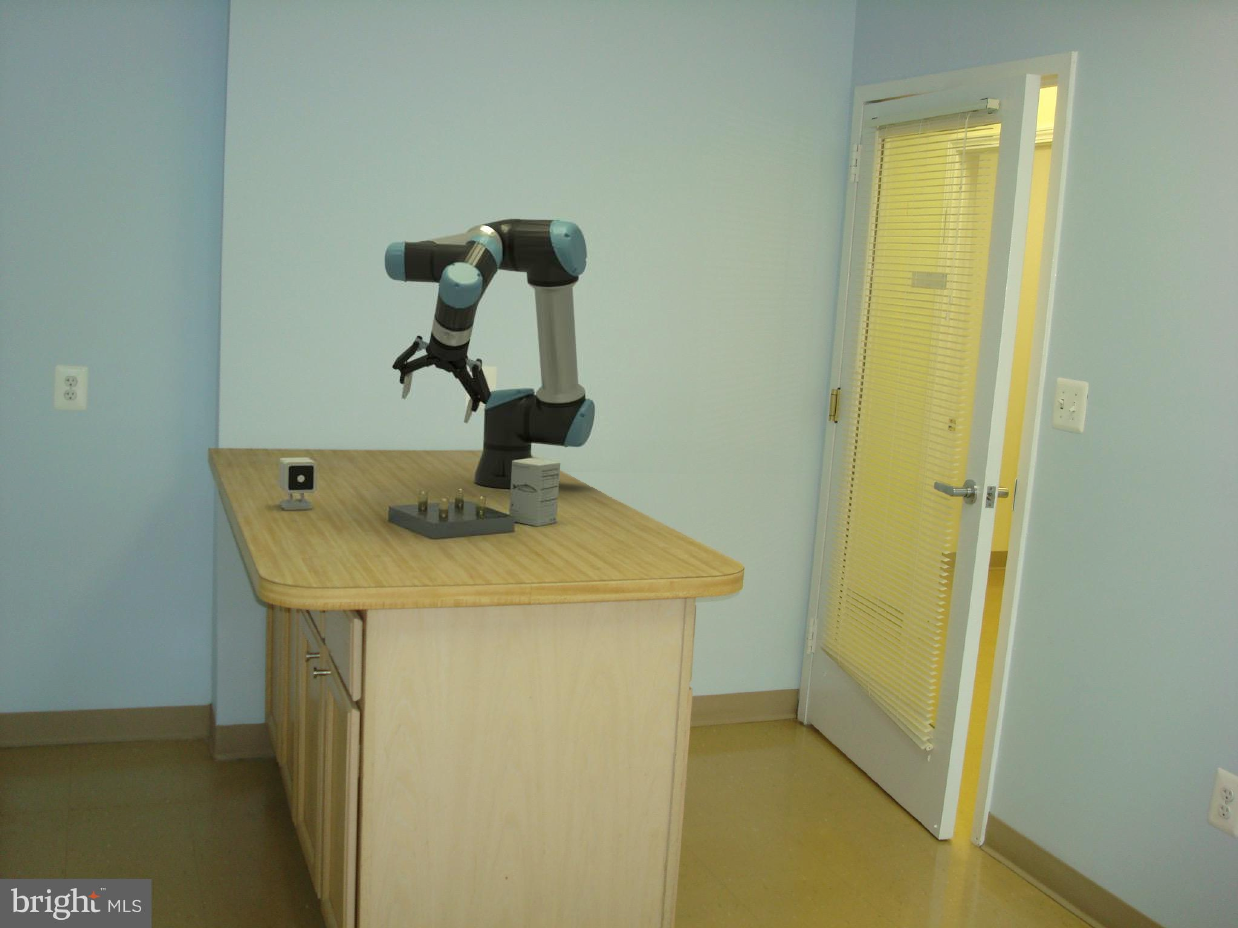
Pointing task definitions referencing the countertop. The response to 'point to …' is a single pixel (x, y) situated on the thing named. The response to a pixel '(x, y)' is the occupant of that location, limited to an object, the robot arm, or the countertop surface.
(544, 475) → the supplement box
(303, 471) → the security camera
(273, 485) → the countertop surface
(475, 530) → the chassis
